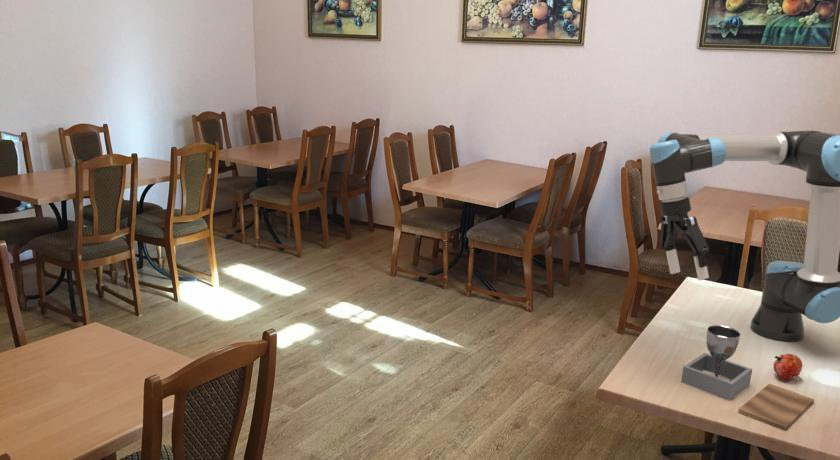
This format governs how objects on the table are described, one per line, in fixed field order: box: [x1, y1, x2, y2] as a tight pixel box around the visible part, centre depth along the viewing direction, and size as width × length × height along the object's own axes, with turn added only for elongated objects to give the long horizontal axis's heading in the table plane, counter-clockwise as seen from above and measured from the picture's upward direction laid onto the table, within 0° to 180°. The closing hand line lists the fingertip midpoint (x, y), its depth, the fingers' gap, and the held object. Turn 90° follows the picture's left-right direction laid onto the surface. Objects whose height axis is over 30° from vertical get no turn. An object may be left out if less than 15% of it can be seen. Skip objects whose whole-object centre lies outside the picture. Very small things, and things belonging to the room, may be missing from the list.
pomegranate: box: [773, 353, 803, 382], centre depth 191 cm, size 7×7×10 cm
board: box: [737, 383, 815, 431], centre depth 176 cm, size 20×11×1 cm, turn 134°
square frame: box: [680, 352, 753, 401], centre depth 187 cm, size 13×13×4 cm
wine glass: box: [705, 324, 741, 378], centre depth 186 cm, size 8×8×15 cm
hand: (688, 275), depth 189 cm, fingers open, 13 cm apart
